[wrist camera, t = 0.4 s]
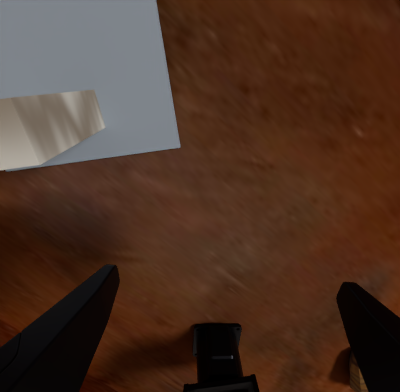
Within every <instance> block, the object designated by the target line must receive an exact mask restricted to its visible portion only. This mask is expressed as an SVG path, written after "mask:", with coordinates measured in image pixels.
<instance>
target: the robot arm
mask: <svg viewBox="0 0 400 392" xmlns="http://www.w3.org/2000/svg"><path fill="white" fill-rule="evenodd" d="M119 282H120V279H119V273H118V268H117V266H116V265H110V264H107V265H105V266H103V267H102V268H101V269H100V270H98V271H97V272H96V273H95V274H93V275H92V276H91V277H89V278H88V279H87V280H86V281H84V282H83V283H82V284H81V285H79V286H78V287H77V288H76V289H74V290H73V291H72V292H70V293H69V294H68V295H67V296H65V297H64V298H63V299H62V300H60V301H59V302H58V303H57V304H55V305H54V306H53V307H51V308H50V309H49V310H48V311H46V312H45V313H44V314H43V315H41V316H40V317H39V318H37V319H36V320H35V321H34V322H32V323H31V324H30V325H29V326H27V327H26V328H25V329H24V330H22V332H21V333H18V334H17V335H16V336H15V337H13V338H12V339H11V340H9V341H8V342H7V343H6V344H4V345H3V346H2V347H0V392H79V390H80V388H81V385H82V383H83V381H84V378H85V376H86V373H87V371H88V369H89V366H90V364H91V361H92V359H93V357H94V354H95V352H96V349H97V347H98V345H99V342H100V340H101V337H102V335H103V333H104V330H105V328H106V325H107V323H108V320H109V317H110V313H111V310H112V307H113V303H114V300H115V297H116V293H117V290H118V287H119ZM336 299H337V304H338V308H339V311H340V314H341V318H342V321H343V325H344V328H345V332H346V335H347V338H348V341H349V344H350V347H351V349H352V352H353V354H354V357H355V359H356V362H357V364H358V367H359V369H360V372H361V374H362V377H363V379H364V382H365V384H366V387H367V389H368V392H400V318H399V317H398V316H397V315H395V314H394V313H393V312H392V311H390V310H389V309H388V308H387V307H385V306H384V305H383V304H382V303H380V302H379V301H378V300H377V299H375V298H374V297H373V296H372V295H370V294H369V293H368V292H367V291H365V290H364V289H363V288H362V287H360V286H359V285H358V284H357V283H354V282H343V283H342V285H341V287H340V289H339V292H338V294H337V297H336ZM241 330H242V328H241V325H240V324H210V325H195V326H194V338H193V356H195V357H197V380H198V383H196V384H184V390H183V392H259V388H258V384H257V380H256V376H255V374H252V375H251V376H245V377H243V372H242V366H241V361H240V356H239V350H238V346H239V340H240V335H241Z"/></svg>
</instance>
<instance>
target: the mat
mask: <svg viewBox="0 0 400 392" xmlns="http://www.w3.org/2000/svg"><path fill="white" fill-rule="evenodd" d="M85 90H95V94H96V97H97V100H98V104H99V107H100V111H101V114H102V117H103V121H104V124H105V127H106V128H104V129H102V130H101V131H99V132H97V133H95V134H94V135H92V136H90V137H88V138H87V139H85V140H83V141H81V142H80V143H78V144H76V145H74V146H73V147H71V148H69V149H67V150H66V151H64V152H62V153H60V154H59V155H57V156H55V157H53V158H52V159H50V160H48V161H46V162H44V163H43V164H41V165H36V166H29V167H21V168H14V169H7V170H6V171H7V172H8V171H15V170H22V169H29V168H37V167H44V166H51V165H58V164H65V163H73V162H80V161H87V160H94V159H101V158H109V157H116V156H123V155H130V154H137V153H145V152H152V151H159V150H166V149H173V148H180V141H179V135H178V129H177V123H176V117H175V111H174V105H173V99H172V93H171V87H170V81H169V76H168V70H167V64H166V58H165V52H164V46H163V40H162V34H161V28H160V22H159V16H158V10H157V4H156V0H0V99H4V98H12V97H22V96H33V95H43V94H53V93H64V92H74V91H85Z"/></svg>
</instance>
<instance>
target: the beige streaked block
mask: <svg viewBox="0 0 400 392" xmlns="http://www.w3.org/2000/svg"><path fill="white" fill-rule="evenodd" d="M104 128H106V127H105V124H104V121H103V117H102V114H101V111H100V107H99V104H98V100H97V97H96V94H95V90H85V91H74V92H64V93H53V94H43V95H33V96H22V97H12V98H4V99H0V170H7V169H14V168H21V167H29V166H36V165H41V164H43V163H44V162H46V161H48V160H50V159H52V158H53V157H55V156H57V155H59V154H60V153H62V152H64V151H66V150H67V149H69V148H71V147H73V146H74V145H76V144H78V143H80V142H81V141H83V140H85V139H87V138H88V137H90V136H92V135H94V134H95V133H97V132H99V131H101V130H102V129H104Z"/></svg>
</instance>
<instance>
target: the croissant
mask: <svg viewBox="0 0 400 392" xmlns="http://www.w3.org/2000/svg"><path fill="white" fill-rule="evenodd" d="M349 369H350V386H351V388H352V389H353V390H354V391H355V392H368V389H367V387H366V384H365V382H364V379H363V377H362V374H361V372H360V369H359V367H358V364H357V362H356V359H355V357H354V354H353V352H352V351H351V354H350V359H349Z"/></svg>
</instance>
